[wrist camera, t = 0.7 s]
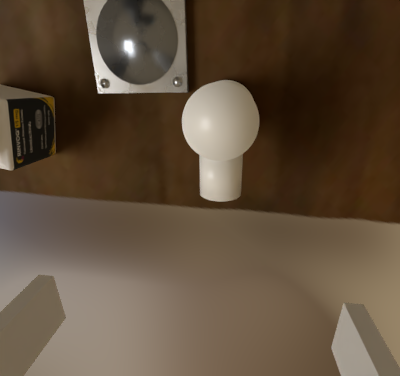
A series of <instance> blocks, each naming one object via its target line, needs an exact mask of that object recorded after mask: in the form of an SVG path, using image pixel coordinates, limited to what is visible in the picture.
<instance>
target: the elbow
mask: <svg viewBox="0 0 400 376" xmlns="http://www.w3.org/2000/svg"><path fill="white" fill-rule="evenodd" d="M182 129H183V133H184V136H185V138H186V140H187V142H188V144H189V145H190V147H191V148H192V149H193V150H194V151H195V152H196V153H198V154H199V157H200V195H201V196H202V197H203V198H205V199H208V200H212V201H231V200H234V199H237V198H238V197H240V195H241V179H242V158H243V153H244V152H245V151H247V150H248V148H249V147H250V146H251V145H252V144H253V142H254V140H255V138H256V136H257V133H258V129H259V113H258V109H257V106H256V104H255V102H254V100H253V97H252V95H251V93H250V92H249V91H248V89H247V88H246V87H245V86H243V85H242V84H240V83H238V82H235V81H232V80H221V81H217V82H214V83H210V84H207V85H205V86H203V87H201V88H200V89H198V90H197V91H196V92H195V93H194V94H193V95H192V96H191V97H190V98H189V100H188V101H187V103H186V105H185V108H184V111H183V116H182Z"/></svg>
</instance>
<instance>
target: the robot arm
mask: <svg viewBox="0 0 400 376" xmlns="http://www.w3.org/2000/svg"><path fill="white" fill-rule="evenodd" d="M65 318H66V317H65V313H64V310H63V307H62V304H61V300H60V297H59V293H58V290H57V287H56V283H55V280H54V277H53V276H45V275H38V276H37V277H36V278H35V279H34V280H33V281H32V282H31V283H30V284H29V285H28V286H27V287H26V288H25V289H24V290H23V291H22V292H21V293H20V294H19V295H18V296H17V297H16V298H15V299H13V300H12V301H11V303H9V304H8V305H7V306H6V307H5V308H4V309H3V310H2V311H1V312H0V376H24V374H25V373H26V372H27V370H28V369H29V368H30V366H31V365H32V363H33V362H34V361H35V359H36V358H37V357H38V355H39V354H40V352H41V351H42V350H43V348H44V347H45V346H46V344H47V343H48V342H49V340H50V339H51V337H52V336H53V335H54V333H55V332H56V331H57V329H58V328H59V326H60V325H61V324H62V322H63V321H64V319H65ZM332 351H333V354H334V357H335V360H336V363H337V365H338V368H339V371H340V374H341V376H400V368H399V366H398V364H397V362H396V361H395V359H394V357H393V356H392V354H391V352H390V350H389V348H388V347H387V345H386V343H385V341H384V340H383V338H382V336H381V334H380V333H379V331H378V329H377V327H376V326H375V324H374V322H373V320H372V319H371V317H370V315H369V313H368V311H367V310H366V308H365V306H364V305H362V304H352V303H344V304H343V308H342V311H341V315H340V318H339V322H338V326H337V329H336V333H335V337H334V340H333V343H332Z"/></svg>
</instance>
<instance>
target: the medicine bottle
mask: <svg viewBox="0 0 400 376" xmlns="http://www.w3.org/2000/svg"><path fill="white" fill-rule="evenodd" d="M55 153H56V136H55V100H54V98H53V97H52V96H49V95H44V94H40V93H36V92H31V91H27V90H22V89H18V88H14V87H9V86H5V85H1V84H0V168H2V169H6V170H15V169H17V168H20V167H23V166H25V165H28V164H31V163H33V162H36V161H39V160H41V159H44V158H47V157H49V156H52V155H54V154H55Z"/></svg>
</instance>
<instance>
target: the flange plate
mask: <svg viewBox="0 0 400 376" xmlns="http://www.w3.org/2000/svg"><path fill="white" fill-rule="evenodd" d="M84 6H85V13H86V19H87V26H88V32H89V38H90V45H91V51H92V58H93V64H94V71H95V77H96V83H97V90H98V93H166V92H189V84H188V51H187V18H186V0H84Z"/></svg>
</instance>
